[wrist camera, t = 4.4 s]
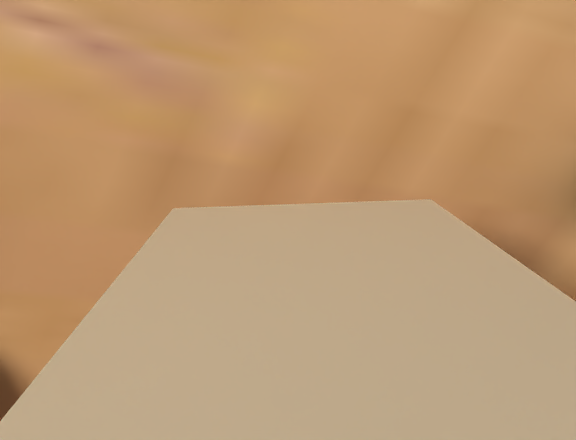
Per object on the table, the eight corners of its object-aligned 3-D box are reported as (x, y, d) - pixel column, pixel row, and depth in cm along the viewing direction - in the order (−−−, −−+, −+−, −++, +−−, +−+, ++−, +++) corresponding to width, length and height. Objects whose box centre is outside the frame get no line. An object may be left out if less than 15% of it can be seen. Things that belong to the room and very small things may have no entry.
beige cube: (173, 208, 11) (-133, 584, 3) (430, 199, 11) (886, 521, 3) (200, 408, 14) (88, 914, 5) (408, 398, 14) (614, 865, 6)
